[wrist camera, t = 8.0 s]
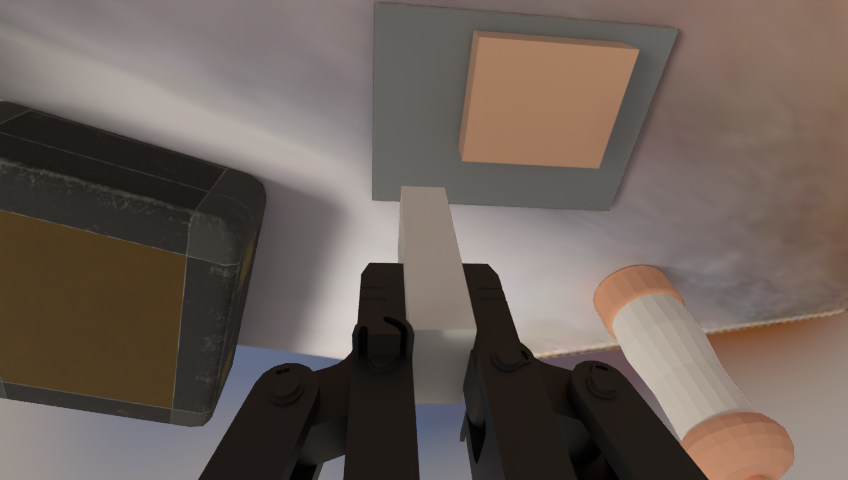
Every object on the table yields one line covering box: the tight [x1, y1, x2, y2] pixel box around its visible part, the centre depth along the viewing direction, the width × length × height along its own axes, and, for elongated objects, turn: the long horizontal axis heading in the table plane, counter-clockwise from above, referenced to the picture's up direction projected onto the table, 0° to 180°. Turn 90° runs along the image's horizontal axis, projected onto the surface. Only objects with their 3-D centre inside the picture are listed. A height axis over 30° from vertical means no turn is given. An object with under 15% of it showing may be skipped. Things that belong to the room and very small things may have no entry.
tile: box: [458, 30, 639, 169], centre depth 29 cm, size 3×8×10 cm
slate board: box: [372, 2, 679, 211], centre depth 32 cm, size 20×14×1 cm
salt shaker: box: [594, 265, 794, 480], centre depth 35 cm, size 7×7×19 cm
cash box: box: [0, 102, 266, 427], centre depth 35 cm, size 25×20×8 cm
